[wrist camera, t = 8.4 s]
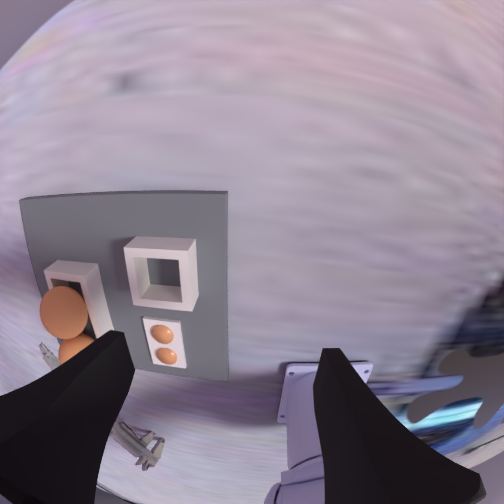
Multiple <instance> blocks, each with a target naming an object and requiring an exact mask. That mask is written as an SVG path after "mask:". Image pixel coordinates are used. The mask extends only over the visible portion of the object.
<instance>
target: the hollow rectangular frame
mask: <svg viewBox="0 0 504 504" xmlns="http://www.w3.org/2000/svg"><path fill="white" fill-rule="evenodd" d="M44 274H45V277H46V281H47V284H48V288H49V290H50V289H52V288H54V287H57V286H67V287H69V284H68V281H73V282H80V284H81V288H82V292H83V296H84V299H85V303H86V306H87V310H88V313H89V316H90V319H91V323H92V326H93V329H94V332H95V335H96V338H99V337H100V336H102V335H103V334H105V333H106V332H108V331H109V330H114V328H113V325H112V321H111V317H110V314H109V310H108V306H107V302H106V298H105V294H104V290H103V285H102V281H101V276H100V271H99V266H98V264H97V263H85V262H74V261H64V260H57V261H55V262H54V263H53V264H51V265H50V266H49V267H48V268H46V269H45V270H44ZM81 333H82V334H84V332H83V331H82V332H81Z"/></svg>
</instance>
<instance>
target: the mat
mask: <svg viewBox="0 0 504 504" xmlns="http://www.w3.org/2000/svg"><path fill="white" fill-rule="evenodd" d="M19 201H20V208H21V214H22V220H23V226H24V231H25V236H26V241H27V246H28V250H29V254H30V258H31V262H32V266H33V270H34V273H35V277H36V280H37V284H38V287H39V290H40V293H41V296H42V299H43V297H44V295H45V294H46V293H47V292H48V291H49V288H48V284H47V281H46V277H45V274H44V270H45V269H46V268H48V267H49V266H50V265H51V264H53V263H54V262H55V261H57V260H64V261H74V262H85V263H97V264H98V266H99V271H100V276H101V281H102V285H103V290H104V294H105V298H106V302H107V306H108V310H109V314H110V317H111V321H112V325H113V328H114V330H115V331H121V332H124V334H125V338H126V341H127V345H128V348H129V351H130V355H131V358H132V361H133V364H134V367H135V369H141V370H146V371H151V372H157V373H163V374H169V375H176V376H183V377H190V378H198V379H207V380H217V381H228V375H229V362H228V304H227V215H228V191H117V192H93V193H75V194H61V195H48V196H36V197H27V198H24V199H22V200H19ZM136 236H143V237H168V238H191V239H196V257H197V276H198V292H199V296H198V298H197V301H196V303H195V306H194V309H193V311H192V312H191V311H181V310H171V309H162V308H153V307H144V306H136V305H133V300H132V295H131V290H130V285H129V279H128V273H127V267H126V261H125V254H124V247H125V246H126V245H127V244H128V243H129V242H130V241H131V240H133V239H134V238H135V237H136ZM147 265H148V273H149V280H150V284H156V285H167V286H179V287H181V283H180V271H179V260H173V259H157V258H147ZM68 284H69V287H70V288H72V289H74V290H76V291H77V292H78V293H79V294H80V295H81V296H82V297H83V299H84V296H83V292H82V288H81V284H80V282H73V281H68ZM84 301H85V299H84ZM144 316H146V317H153V318H162V319H170V320H179V321H180V324H181V331H182V338H183V345H184V352H185V358H186V364H187V367H186V368H179V367H172V366H165V365H159V364H153V360H152V356H151V353H150V348H149V344H148V340H147V336H146V331H145V327H144V322H143V317H144ZM83 332H84V334H86V335H88V336H90V337H91V338H93V339H94V340H96V339H97V338H96V335H95V332H94V329H93V326H92V323H91V319H90V316H89V313H88V319H87V323H86V326H85V328H84V329H83ZM57 339H58V342H59V344H60V345H61V342H62V341H63V340H64V339H60V338H57Z"/></svg>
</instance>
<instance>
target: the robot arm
mask: <svg viewBox="0 0 504 504" xmlns="http://www.w3.org/2000/svg"><path fill="white" fill-rule="evenodd" d="M372 368H373V364H372V362H352V363H350V362H349V360H348V359H347V358H346V356H345V355H344V353H343V352H342V351H341V349H340V348H323V349H322V353H321V357H320V361H319V363H292V364H288V365H287V367H286V372H285V378H284V384H283V389H282V395H281V400H280V405H279V411H278V416H277V422H278V423H286V426H287V457H288V468H289V470H288V471H284V472H281V482H280V483H276V484H275V485H274V486H273V487H272V488H271V489H270V491H269V493H268V494H267V496H266V498H265V502H264V504H476V503H478V502H479V501H481V500H482V499H483V498H485V496H486V491H485V488H484V485H483V482H482V479H481V477H480V475H479V473H476V472H474V471H472V470H470V469H467V468H465V467H463V466H461V465H459V464H457V463H455V462H453V461H451V460H450V459H448V458H446V457H445V456H443V455H441V454H440V453H438V452H437V451H435V450H434V449H432V448H431V447H430V446H428V445H427V444H426V443H424V442H423V441H422V440H420V439H419V438H418V437H416V436H415V435H414V434H413V433H411V432H410V431H409V430H408V429H407V428H406V427H405V426H404V425H403V424H401V423H400V422H399V421H398V420H397V419H396V418H395V417H394V416H393V415H392V414H391V413H390V412H389V410H388V409H387V408H386V407H385V406H384V405H383V404H382V403H381V402H380V400H379V399H378V398H377V397H376V396H375V395H374V393H373V392H372V391H371V390H370V388H369V387H368V386H367V385H366V382H367V380H368V377H369V375H370V373H371V370H372ZM365 370H366V371H365ZM134 372H135V367H134V364H133V361H132V358H131V355H130V351H129V348H128V345H127V341H126V338H125V334H124V332H121V331H115V330H109V331H108V332H106V333H105V334H103V335H102V336H100V337H99V338H97V339H96V340H95V341H93V342H92V343H91V344H89V345H88V346H87V347H85V348H84V349H82V350H81V351H80V352H78V353H77V354H76V355H74V356H73V357H71V358H70V359H69V360H67V361H66V362H64V363H63V364H61V365H60V366H58V367H57V368H55V369H54V370H52V371H51V372H49V373H47V374H46V375H44V376H42V377H41V378H39V379H37V380H35V381H33V382H31V383H30V384H28V385H26V386H23V387H21V388H19V389H16V390H14V391H12V392H9V393H7V394H4V395H1V396H0V504H94V500H95V491H96V485H97V478H98V474H99V469H100V464H101V460H102V456H103V453H104V449H105V445H106V442H107V440H108V437H109V434H110V432H111V430H112V427H113V425H114V423H115V421H116V419H117V416H118V414H119V412H120V410H121V408H122V405H123V403H124V401H125V399H126V396H127V394H128V392H129V389H130V386H131V383H132V379H133V376H134ZM290 372H292V373H290Z"/></svg>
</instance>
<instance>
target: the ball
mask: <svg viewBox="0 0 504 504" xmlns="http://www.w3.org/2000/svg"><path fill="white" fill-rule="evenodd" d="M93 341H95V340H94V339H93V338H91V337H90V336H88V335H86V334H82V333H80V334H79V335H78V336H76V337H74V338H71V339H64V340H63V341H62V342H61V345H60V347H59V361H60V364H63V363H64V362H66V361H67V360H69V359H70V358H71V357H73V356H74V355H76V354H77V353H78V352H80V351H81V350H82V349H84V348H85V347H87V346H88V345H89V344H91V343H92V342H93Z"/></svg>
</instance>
